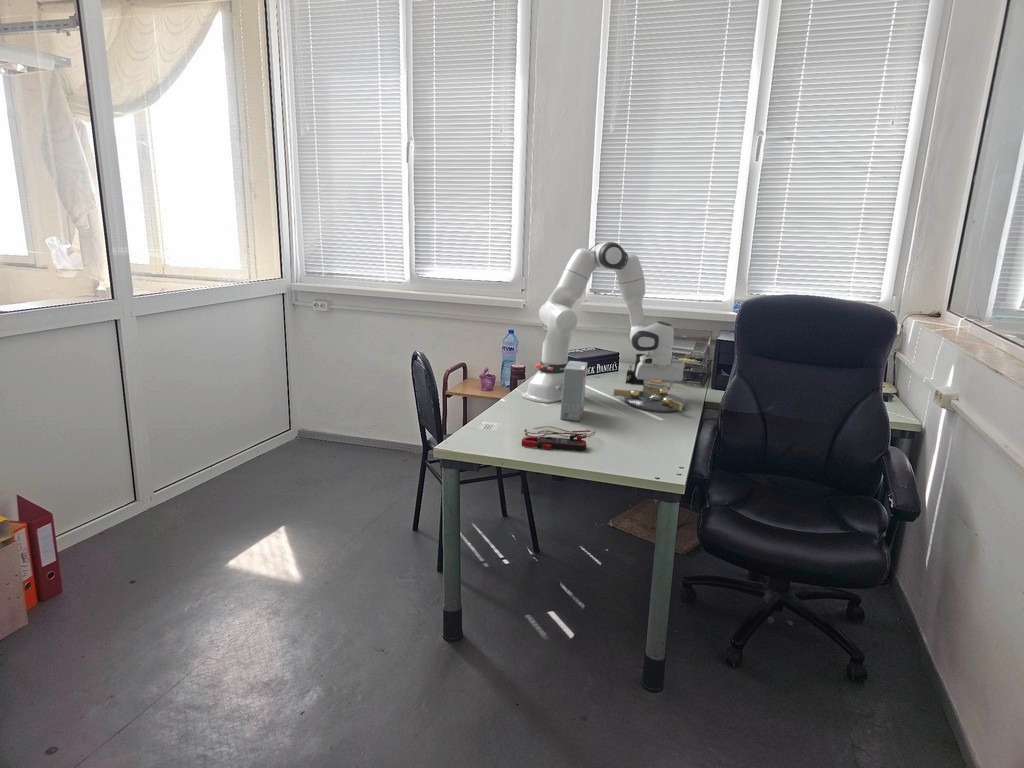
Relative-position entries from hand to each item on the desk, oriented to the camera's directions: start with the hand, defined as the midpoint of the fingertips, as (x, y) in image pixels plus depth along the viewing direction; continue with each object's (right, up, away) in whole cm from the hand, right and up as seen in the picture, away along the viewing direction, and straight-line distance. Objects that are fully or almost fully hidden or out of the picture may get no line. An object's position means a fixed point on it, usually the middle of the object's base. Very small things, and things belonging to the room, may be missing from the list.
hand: (657, 389), depth 278 cm
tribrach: (-4, -6, -11) cm, 13 cm away
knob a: (-2, -1, -3) cm, 4 cm away
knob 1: (-16, -3, -10) cm, 19 cm away
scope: (-5, +3, +22) cm, 22 cm away
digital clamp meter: (-48, -17, -59) cm, 78 cm away
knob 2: (+1, -7, -22) cm, 23 cm away
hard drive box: (-40, -10, -31) cm, 52 cm away
